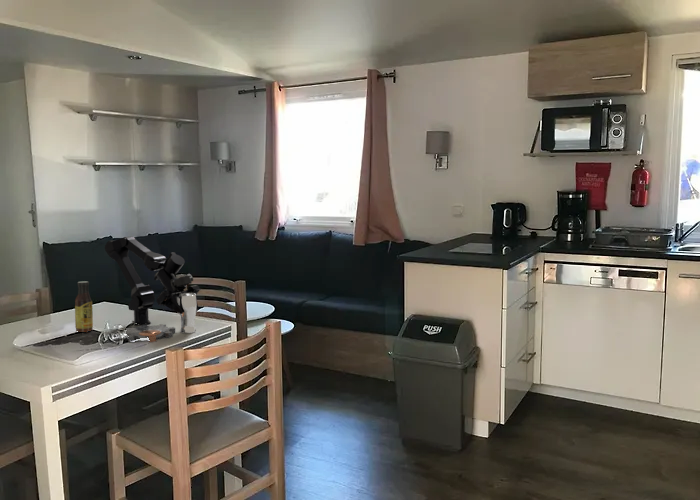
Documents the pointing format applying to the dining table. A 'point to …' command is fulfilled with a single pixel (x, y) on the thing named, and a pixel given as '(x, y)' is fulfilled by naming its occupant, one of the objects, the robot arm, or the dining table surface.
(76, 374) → the dining table surface
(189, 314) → the beer glass
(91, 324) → the sauce bottle
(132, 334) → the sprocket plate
